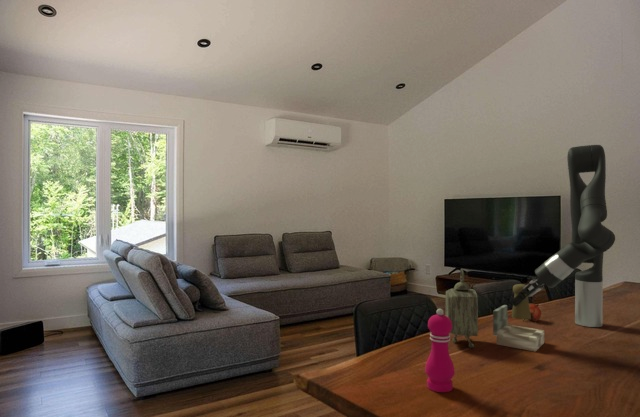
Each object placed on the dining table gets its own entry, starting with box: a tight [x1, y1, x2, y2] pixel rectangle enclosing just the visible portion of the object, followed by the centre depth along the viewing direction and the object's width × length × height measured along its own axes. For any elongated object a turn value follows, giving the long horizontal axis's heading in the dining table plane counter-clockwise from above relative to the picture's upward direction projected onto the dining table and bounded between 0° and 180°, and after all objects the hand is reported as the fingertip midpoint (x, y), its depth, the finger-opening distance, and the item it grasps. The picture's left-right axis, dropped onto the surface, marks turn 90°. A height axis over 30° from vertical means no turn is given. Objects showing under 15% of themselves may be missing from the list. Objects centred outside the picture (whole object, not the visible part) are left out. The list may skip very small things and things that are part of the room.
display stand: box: [492, 304, 545, 353], centre depth 151 cm, size 12×13×11 cm
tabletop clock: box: [445, 268, 479, 349], centre depth 151 cm, size 14×9×25 cm, turn 168°
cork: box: [510, 283, 531, 320], centre depth 150 cm, size 6×6×11 cm
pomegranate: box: [522, 302, 542, 322], centre depth 181 cm, size 7×7×10 cm
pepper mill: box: [424, 308, 456, 393], centre depth 114 cm, size 7×7×20 cm
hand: (515, 302), depth 152 cm, fingers closed on cork, 4 cm apart
